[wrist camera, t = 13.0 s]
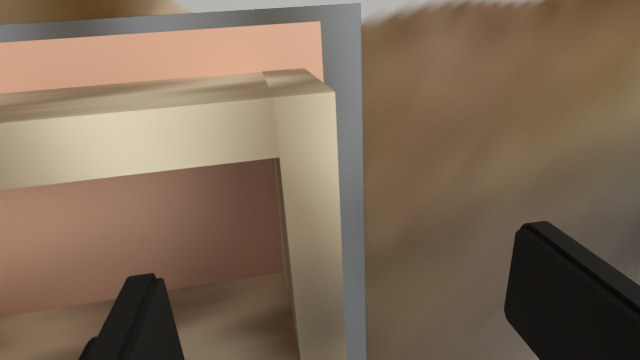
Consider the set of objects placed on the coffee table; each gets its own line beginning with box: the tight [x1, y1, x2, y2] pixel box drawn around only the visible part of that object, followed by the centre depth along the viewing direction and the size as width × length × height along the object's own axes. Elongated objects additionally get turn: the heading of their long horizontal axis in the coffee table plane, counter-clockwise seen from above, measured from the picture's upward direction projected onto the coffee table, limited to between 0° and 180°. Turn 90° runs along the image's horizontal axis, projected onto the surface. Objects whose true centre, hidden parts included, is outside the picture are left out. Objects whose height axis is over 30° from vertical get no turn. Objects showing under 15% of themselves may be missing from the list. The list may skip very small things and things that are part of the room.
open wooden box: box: [0, 68, 347, 360], centre depth 13 cm, size 16×10×5 cm, turn 93°
